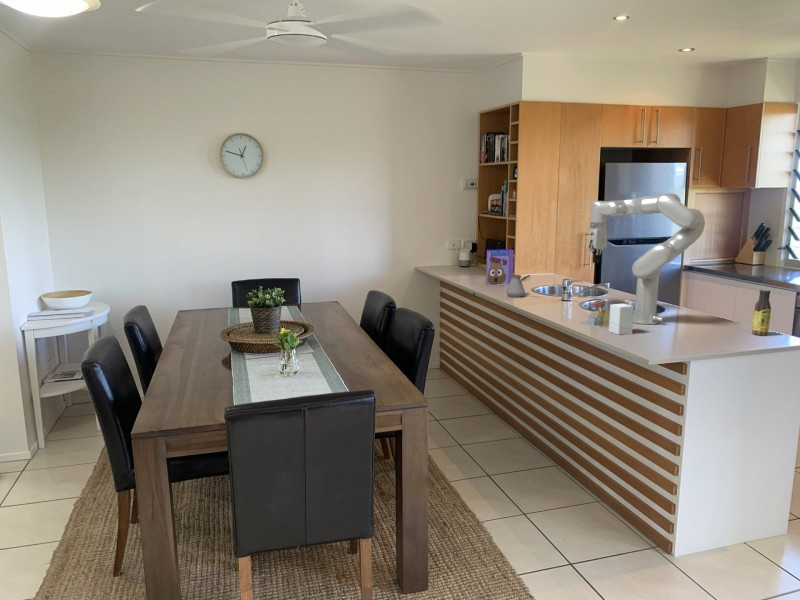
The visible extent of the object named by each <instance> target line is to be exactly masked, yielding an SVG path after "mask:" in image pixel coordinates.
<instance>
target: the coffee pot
mask: <svg viewBox="0 0 800 600" xmlns="http://www.w3.org/2000/svg"><path fill="white" fill-rule="evenodd" d="M521 277H522V275H521V274H513V275H511V278H512V279H511V281H510V283H509V285H507V287H506V290H505V293H506V295H507V296H508V297H510V298H522V297H523V296H524V295H525V294H526V291H525V288H524V286H523V283H522V281H523V280H525V279H527V278H528V279H532V277H533V276H532V275H531V274H529V275H526V276H524V277H522V278H521Z"/></svg>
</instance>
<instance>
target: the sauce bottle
mask: <svg viewBox="0 0 800 600" xmlns="http://www.w3.org/2000/svg"><path fill="white" fill-rule="evenodd" d="M770 294H771V290H770V289H759V298H758V301H757V302H756V303H755V306H754V311H753V319H752V326H751V331H752V332H751V334H752V335H756V336H767V335H768V334H769V328H770V323H771V322H770V321H771V313H772V306H771V302H770V296H771V295H770Z"/></svg>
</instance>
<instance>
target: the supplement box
mask: <svg viewBox="0 0 800 600" xmlns="http://www.w3.org/2000/svg"><path fill="white" fill-rule="evenodd" d="M634 309H635V306H634V305H631V304H626V303H614V304H609V311H610V318H609V326H608V332H610V333H613V334H615V335H618V336H620V335H632V334H633V323H634V322H633V318H634Z"/></svg>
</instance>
